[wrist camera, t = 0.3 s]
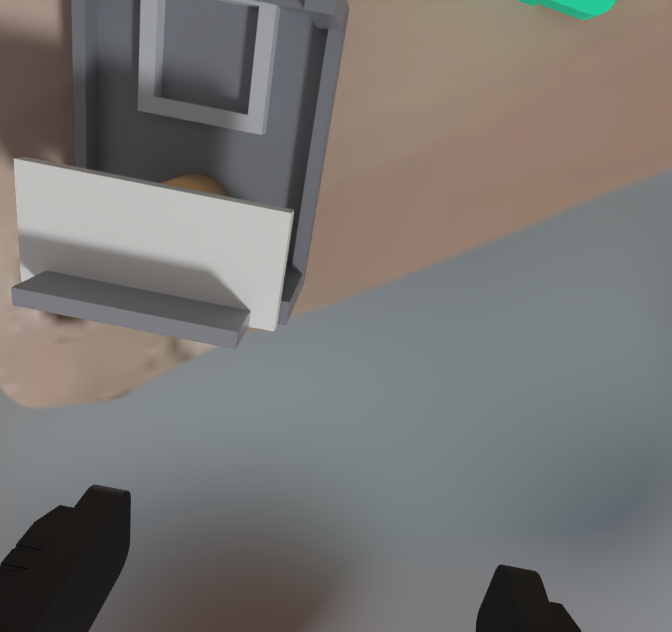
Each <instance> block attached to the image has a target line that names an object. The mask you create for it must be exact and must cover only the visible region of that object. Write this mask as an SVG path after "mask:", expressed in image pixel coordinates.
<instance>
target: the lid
mask: <svg viewBox="0 0 672 632" xmlns="http://www.w3.org/2000/svg"><path fill="white" fill-rule="evenodd" d="M14 172H15V188H16V204H17V219H18V235H19V251H20V267H21V283H19V284H17V285H15V286H13V287H11V290H12V304H13V305H15V306H20V307H25V308H30V309H35V310H40V311H45V312H50V313H55V314H60V315H66V316H71V317H76V318H81V319H86V320H91V321H96V322H101V323H106V324H111V325H116V326H121V327H126V328H131V329H136V330H141V331H146V332H151V333H157V334H162V335H167V336H172V337H177V338H182V339H187V340H192V341H197V342H202V343H207V344H212V345H217V346H222V347H227V348H232V349H236V347H237V346H238V344H239V342H240V341H241V339H242V337H243V336H244V334H245V332H246V331H247V329H248V327H253V328H258V329H263V330H269V331H275V329H276V327H277V323H278V317H279V310H280V303H281V297H282V290H283V283H284V276H285V270H286V263H287V256H288V250H289V243H290V236H291V229H292V223H293V216H294V210H293V209H288V208H283V207H278V206H273V205H268V204H263V203H258V202H252V201H247V200H242V199H237V198H232V197H227V196H222V195H217V194H212V193H207V192H202V191H197V190H192V189H187V188H182V187H176V186H171V185H166V184H161V183H156V182H151V181H146V180H141V179H136V178H131V177H126V176H121V175H116V174H111V173H105V172H100V171H95V170H90V169H85V168H80V167H75V166H70V165H65V164H60V163H55V162H50V161H45V160H40V159H34V158H29V157H20V158H14Z"/></svg>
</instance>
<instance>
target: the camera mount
mask: <svg viewBox="0 0 672 632" xmlns="http://www.w3.org/2000/svg"><path fill="white" fill-rule="evenodd" d="M518 1H520V2H523V3H526V4H528V5H531V6H534V5H535V4H537V3H538V4H540V5H543V6H546V7H548V8H551V9H554V10H556V11H559V12H562V13H564V14H567V15H570V16H573V17H575V18H578V19H582V20H586V19H590V18H593V17H595V16H597V15H600V14H602V13H604V12H606V11H607V10H609V9H610V8H611V7H612V6H613V4H614V3H615V1H616V0H518Z"/></svg>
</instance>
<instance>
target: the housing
mask: <svg viewBox="0 0 672 632" xmlns="http://www.w3.org/2000/svg"><path fill="white" fill-rule="evenodd" d="M71 10H72V64H73V117H74V166H75V167H80V168H85V169H90V170H95V171H100V172H105V173H111V174H116V175H121V176H126V177H131V178H136V179H141V180H146V181H151V182H156V183H161V184H166V185H171V186H176V187H182V188H187V189H192V190H197V191H202V192H207V193H212V194H217V195H222V196H227V197H232V198H237V199H242V200H247V201H252V202H258V203H263V204H268V205H273V206H278V207H283V208H288V209H293V210H294V216H293V223H292V229H291V236H290V243H289V250H288V256H287V263H286V270H285V276H284V283H283V290H282V297H281V303H280V310H279V317H278V324H283V325H286V324H287V322H288V319H289V317H290V315H291V312H292V310H293V308H294V305H295V303H296V300H297V298H298V296H299V293H300V291H301V289H302V286H303V284H304V279H305V273H306V267H307V261H308V255H309V249H310V243H311V237H312V231H313V225H314V219H315V213H316V207H317V201H318V195H319V189H320V183H321V177H322V170H323V164H324V158H325V152H326V146H327V140H328V134H329V128H330V122H331V116H332V110H333V104H334V98H335V92H336V86H337V80H338V74H339V68H340V62H341V56H342V50H343V44H344V38H345V31H346V25H347V19H348V13H349V7H348V4H347V1H346V0H71Z"/></svg>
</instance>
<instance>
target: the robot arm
mask: <svg viewBox="0 0 672 632" xmlns="http://www.w3.org/2000/svg"><path fill="white" fill-rule="evenodd" d="M130 514H131V495H130V492H129V491H126V490H121V489H116V488H111V487H106V486H100V485H92V486H91V487H90V488H89V489H88V490H87V491H86V492H85V493H84V495H83V496H82V497H81V499H80V500H79V501H78V503H77V504H76V505H75V507H74V508H72V507H67V506H62V505H59V506H58V507H56V508H55V509H54V510H52V511H50V512H49V513H47V514H46V515H44V516H43V517H41V518H40V519H38V520H37V521H35V522H34V523H33V525H32V526H31V527H30V528H29V529H28V531H27V532H26V533H25V534H24V535H23V537H22V538H21V539H20V540H19V542H18V543H17V544H16V547H15V549H12V550H11V552H10V553H9V554H8V555H7V556H6V558H5V559H4V560H3V561H2V562H1V565H0V632H88V631H89V630H90V628H91V626H92V624H93V622H94V620H95V619H96V617H97V615H98V613H99V611H100V610H101V608H102V606H103V604H104V602H105V601H106V599H107V597H108V595H109V593H110V591H111V590H112V588H113V586H114V584H115V582H116V580H117V579H118V577H119V575H120V573H121V571H122V568H123V567H124V564H125V561H126V558H127V555H128V551H129V546H130V516H131V515H130ZM476 632H581V630H580V628H579V627H578V626H577V624H576V623H575V622H574V620H573V619H572V618H571V616H570V615H569V613H568V612H567V611H566V609H565V608H564V607H563V605H562V604H559V603H554V602H549V600H548V597H547V594H546V591H545V588H544V585H543V582H542V580H541V577H540V575H539V574H538V573H537V572H536V571H532V570H527V569H521V568H516V567H511V566H506V565H499V566H498V567H497V569H496V571H495V573H494V575H493V578H492V580H491V583H490V585H489V587H488V590H487V592H486V595H485V597H484V599H483V602H482V604H481V606H480V609H479V612H478V616H477V621H476Z"/></svg>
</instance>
